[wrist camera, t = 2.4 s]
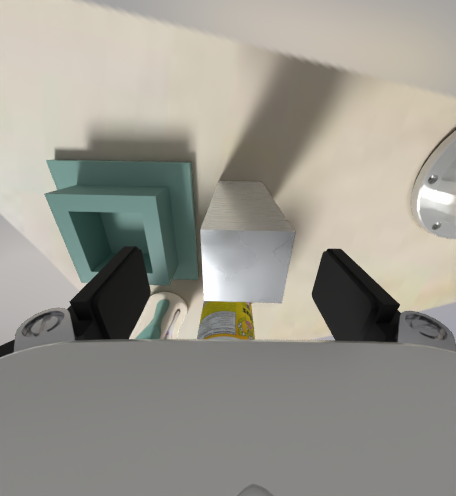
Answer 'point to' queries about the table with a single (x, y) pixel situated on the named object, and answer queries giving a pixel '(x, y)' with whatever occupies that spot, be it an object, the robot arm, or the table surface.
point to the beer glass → (161, 317)
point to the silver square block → (245, 245)
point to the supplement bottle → (226, 321)
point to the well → (126, 215)
